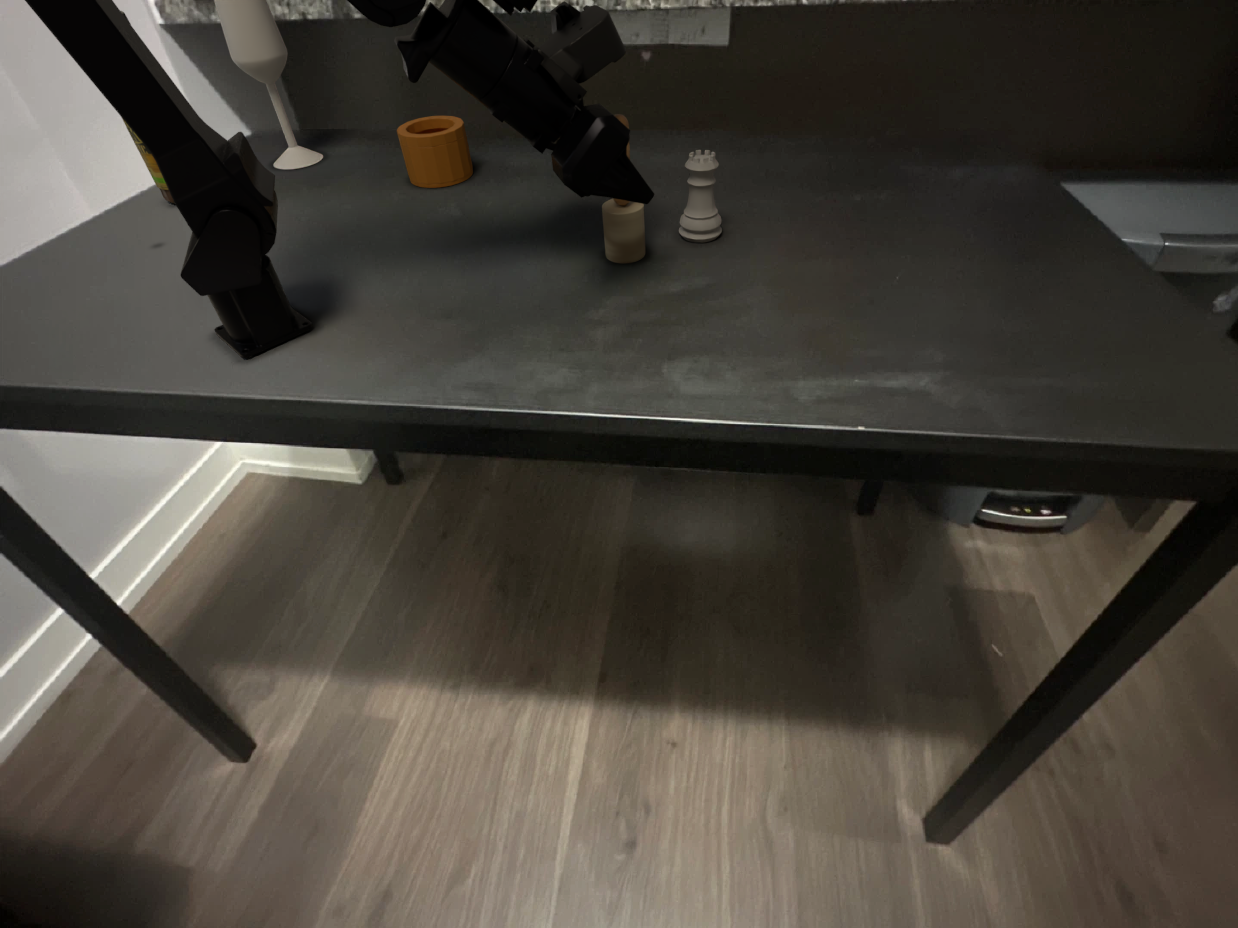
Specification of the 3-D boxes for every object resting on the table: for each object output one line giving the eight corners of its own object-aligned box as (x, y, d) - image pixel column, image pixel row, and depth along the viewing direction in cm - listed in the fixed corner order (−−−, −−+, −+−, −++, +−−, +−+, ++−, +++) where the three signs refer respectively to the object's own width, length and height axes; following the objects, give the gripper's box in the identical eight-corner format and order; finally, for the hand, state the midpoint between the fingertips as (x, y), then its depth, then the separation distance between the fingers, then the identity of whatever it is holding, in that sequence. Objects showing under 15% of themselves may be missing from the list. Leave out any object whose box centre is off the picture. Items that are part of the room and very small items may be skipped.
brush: (653, 252, 68) (650, 112, 59) (625, 267, 66) (617, 124, 57) (625, 241, 70) (617, 104, 62) (597, 255, 68) (585, 116, 60)
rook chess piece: (730, 232, 71) (735, 151, 65) (704, 248, 68) (706, 166, 63) (696, 221, 73) (698, 143, 68) (669, 236, 71) (669, 156, 65)
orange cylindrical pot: (485, 173, 87) (476, 122, 83) (433, 193, 83) (420, 141, 79) (449, 160, 91) (439, 111, 87) (398, 178, 88) (384, 128, 83)
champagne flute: (280, 154, 97) (200, -56, 81) (327, 149, 98) (257, -61, 81) (267, 171, 92) (179, -49, 76) (317, 166, 93) (240, -54, 76)
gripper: (592, -13, 45) (736, 135, 55) (526, -44, 58) (652, 80, 68) (497, 134, 49) (647, 249, 58) (455, 74, 62) (584, 176, 71)
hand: (633, 181), depth 64 cm, fingers open, 9 cm apart
